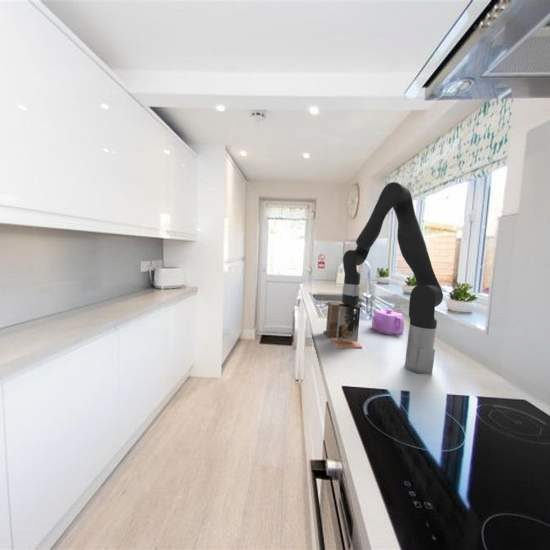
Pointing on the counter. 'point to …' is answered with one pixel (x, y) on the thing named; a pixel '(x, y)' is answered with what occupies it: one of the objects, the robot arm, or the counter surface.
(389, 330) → the teakettle
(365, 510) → the counter surface
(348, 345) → the terracotta pad
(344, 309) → the coffee box
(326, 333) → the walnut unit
